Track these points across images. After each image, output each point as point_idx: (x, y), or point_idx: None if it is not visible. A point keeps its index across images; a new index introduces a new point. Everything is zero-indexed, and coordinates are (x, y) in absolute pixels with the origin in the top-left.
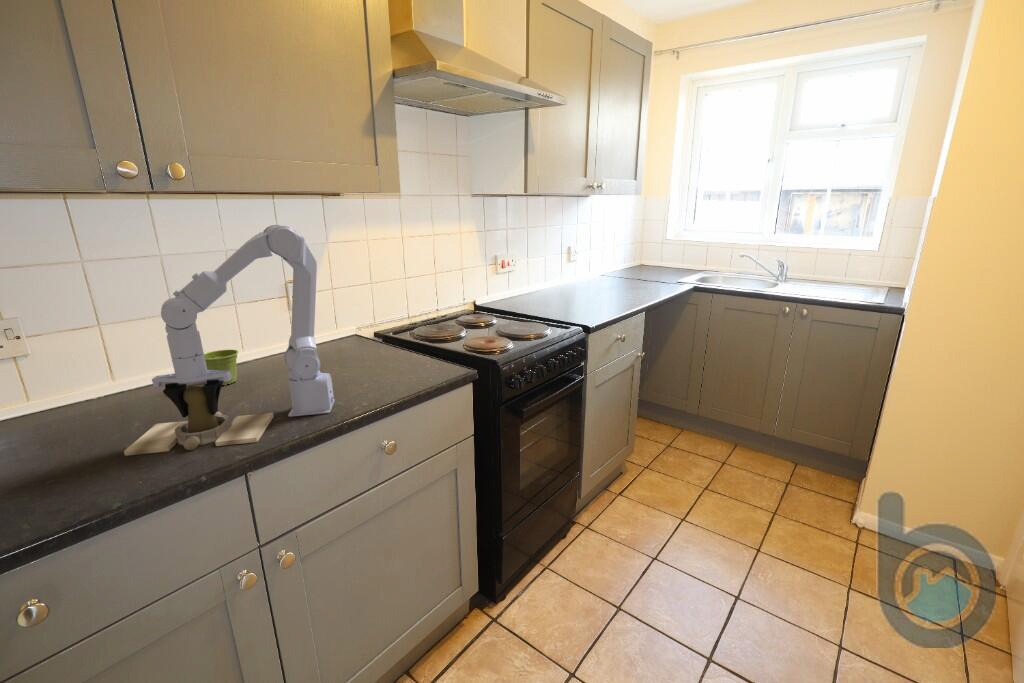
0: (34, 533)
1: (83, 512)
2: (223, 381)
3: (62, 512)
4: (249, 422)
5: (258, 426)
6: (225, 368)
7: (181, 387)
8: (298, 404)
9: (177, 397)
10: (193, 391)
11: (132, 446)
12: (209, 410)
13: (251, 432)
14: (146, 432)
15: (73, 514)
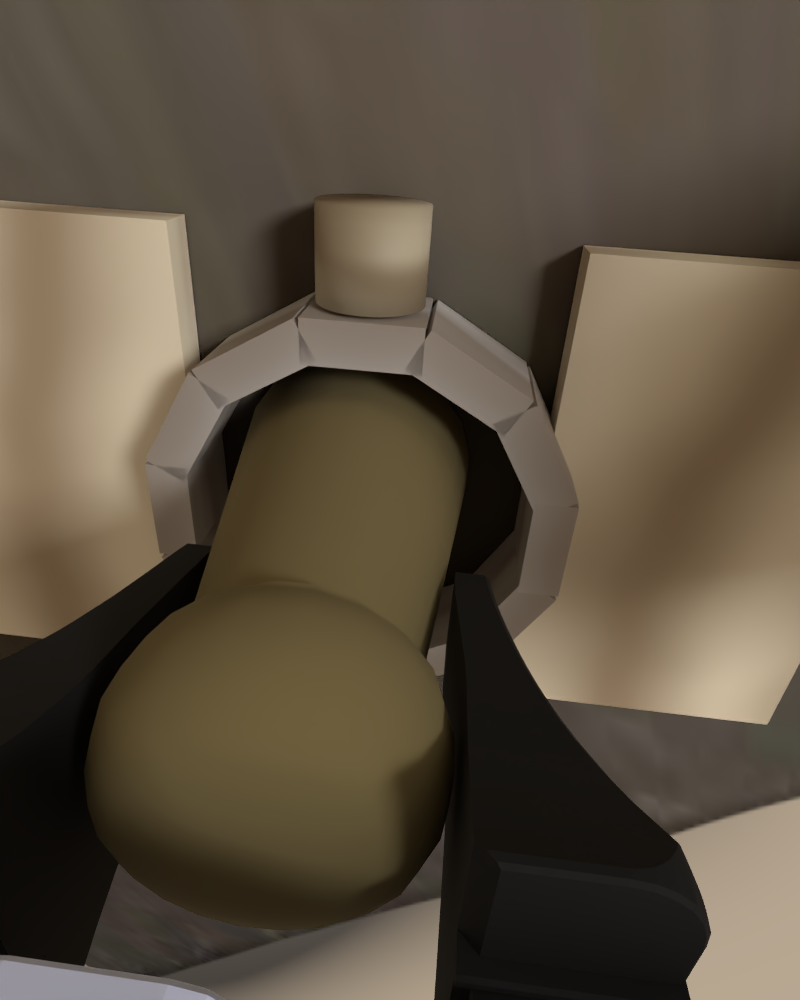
0: (119, 956)
1: (184, 925)
2: (685, 864)
3: (113, 906)
4: (724, 462)
5: (797, 566)
6: None
7: (31, 880)
8: None
9: (111, 871)
10: (271, 925)
11: None
12: (443, 695)
13: (736, 645)
14: None
15: (159, 923)
